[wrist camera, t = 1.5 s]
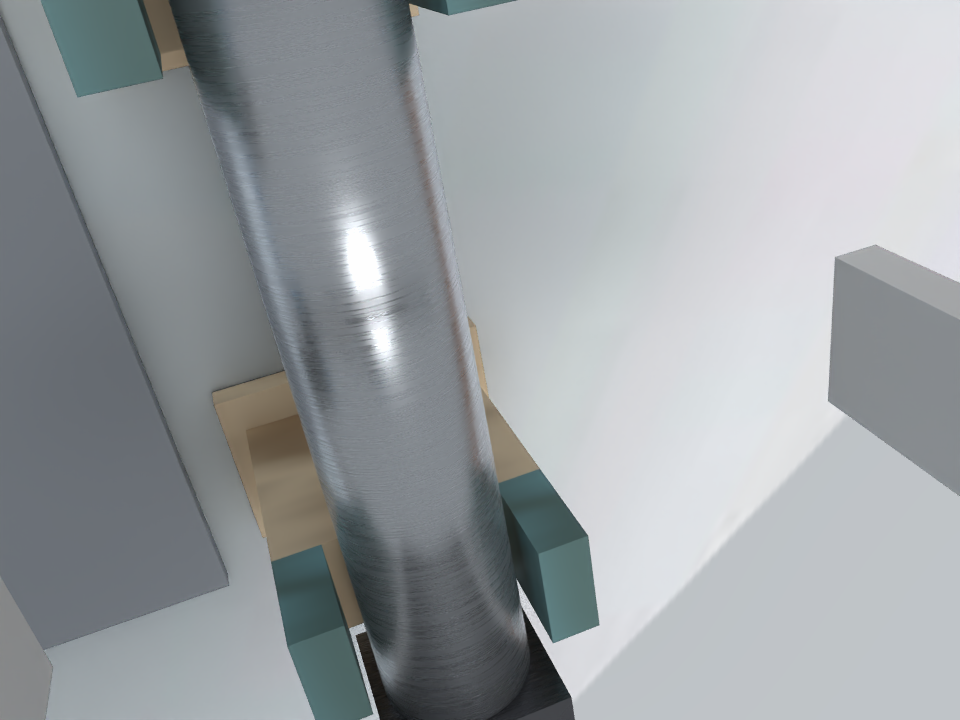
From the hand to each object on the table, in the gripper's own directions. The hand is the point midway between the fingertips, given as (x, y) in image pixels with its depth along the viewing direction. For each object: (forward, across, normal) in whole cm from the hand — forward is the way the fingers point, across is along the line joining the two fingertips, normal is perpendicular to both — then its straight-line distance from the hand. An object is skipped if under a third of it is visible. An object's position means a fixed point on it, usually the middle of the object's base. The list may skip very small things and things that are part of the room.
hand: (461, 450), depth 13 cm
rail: (+6, 0, 0) cm, 6 cm away
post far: (+13, 0, -7) cm, 15 cm away
